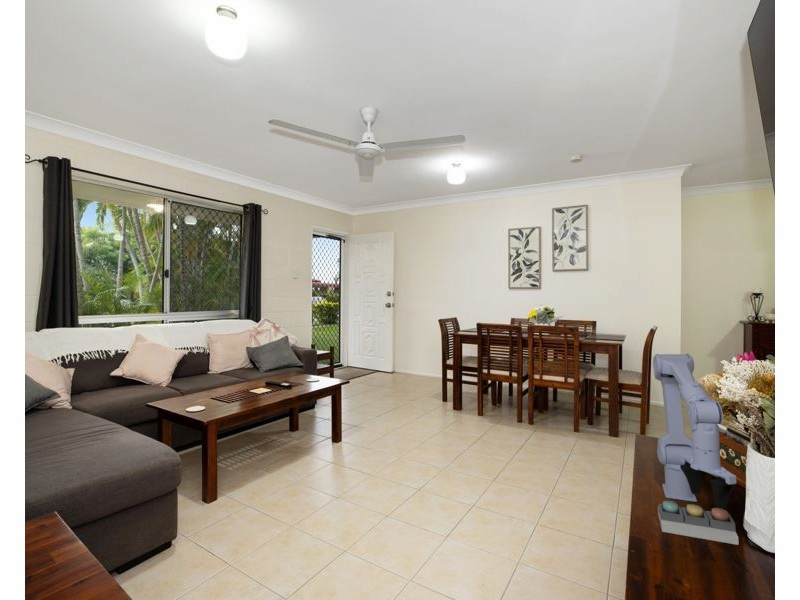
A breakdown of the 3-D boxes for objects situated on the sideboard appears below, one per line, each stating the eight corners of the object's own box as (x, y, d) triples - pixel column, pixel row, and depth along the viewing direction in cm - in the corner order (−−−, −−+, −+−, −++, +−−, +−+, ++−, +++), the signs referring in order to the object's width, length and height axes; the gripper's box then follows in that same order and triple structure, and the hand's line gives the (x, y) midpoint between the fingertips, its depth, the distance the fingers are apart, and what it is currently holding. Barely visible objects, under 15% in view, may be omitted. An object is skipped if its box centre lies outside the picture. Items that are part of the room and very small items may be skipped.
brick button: (710, 513, 111) (710, 506, 111) (726, 516, 110) (726, 509, 110) (713, 520, 108) (713, 512, 108) (729, 522, 107) (729, 515, 107)
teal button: (662, 506, 116) (662, 499, 116) (676, 508, 115) (676, 501, 115) (664, 512, 113) (663, 505, 113) (678, 514, 112) (678, 507, 112)
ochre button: (686, 510, 114) (685, 503, 114) (701, 512, 112) (700, 505, 112) (688, 516, 111) (687, 509, 111) (703, 518, 109) (703, 511, 109)
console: (658, 513, 119) (657, 499, 119) (728, 524, 112) (727, 509, 112) (662, 531, 110) (661, 516, 110) (738, 544, 103) (737, 528, 103)
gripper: (670, 439, 114) (672, 489, 114) (716, 459, 99) (719, 516, 99) (693, 437, 115) (695, 486, 115) (742, 456, 100) (745, 512, 100)
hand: (708, 499), depth 107 cm, fingers open, 7 cm apart
